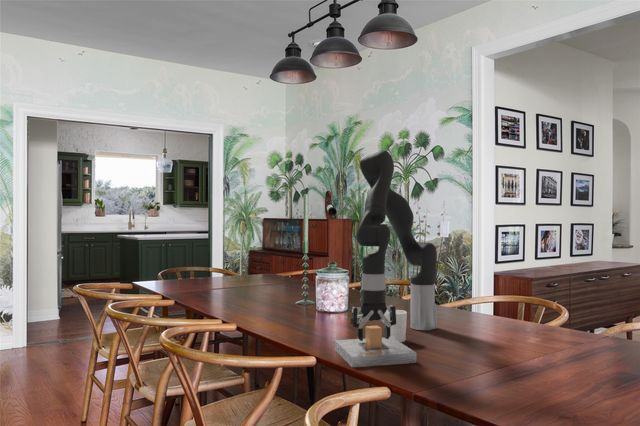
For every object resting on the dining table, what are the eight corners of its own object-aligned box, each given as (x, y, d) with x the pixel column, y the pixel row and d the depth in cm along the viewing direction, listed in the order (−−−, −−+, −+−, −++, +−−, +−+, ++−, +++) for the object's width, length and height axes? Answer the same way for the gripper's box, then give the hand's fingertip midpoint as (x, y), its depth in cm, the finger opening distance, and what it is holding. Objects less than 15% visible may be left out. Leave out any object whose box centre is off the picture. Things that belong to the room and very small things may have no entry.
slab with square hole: (392, 345, 171) (392, 335, 171) (416, 362, 152) (416, 351, 152) (334, 349, 167) (334, 339, 167) (352, 367, 147) (352, 356, 147)
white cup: (389, 343, 174) (389, 314, 174) (380, 338, 182) (380, 310, 182) (410, 342, 176) (410, 313, 176) (401, 336, 184) (401, 309, 184)
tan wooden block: (377, 353, 162) (377, 325, 162) (381, 357, 158) (381, 328, 158) (365, 354, 161) (365, 326, 161) (369, 358, 157) (369, 328, 157)
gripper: (390, 285, 165) (390, 335, 165) (348, 286, 161) (348, 337, 161) (399, 288, 157) (399, 341, 157) (355, 290, 154) (355, 343, 154)
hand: (373, 339), depth 159 cm, fingers open, 8 cm apart
